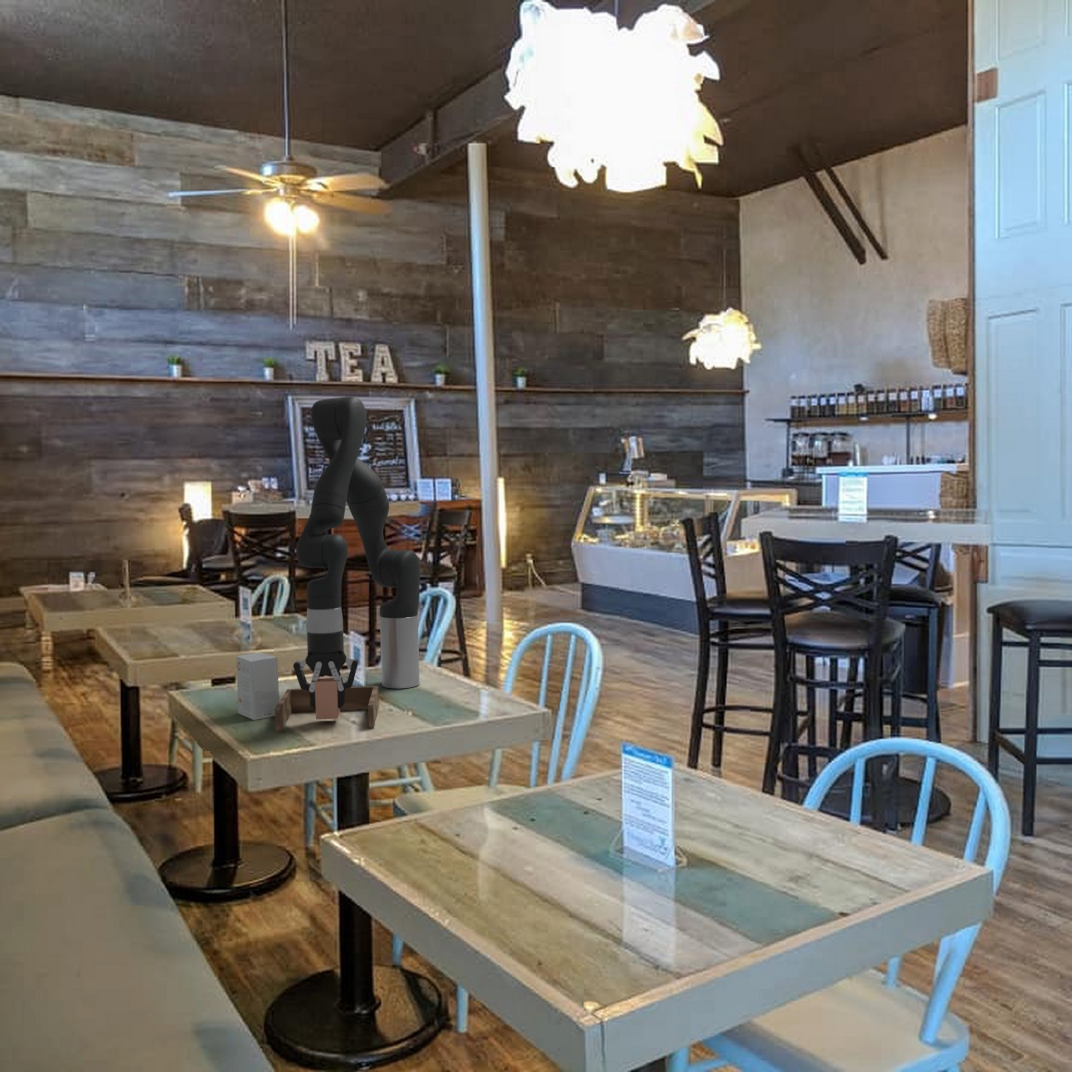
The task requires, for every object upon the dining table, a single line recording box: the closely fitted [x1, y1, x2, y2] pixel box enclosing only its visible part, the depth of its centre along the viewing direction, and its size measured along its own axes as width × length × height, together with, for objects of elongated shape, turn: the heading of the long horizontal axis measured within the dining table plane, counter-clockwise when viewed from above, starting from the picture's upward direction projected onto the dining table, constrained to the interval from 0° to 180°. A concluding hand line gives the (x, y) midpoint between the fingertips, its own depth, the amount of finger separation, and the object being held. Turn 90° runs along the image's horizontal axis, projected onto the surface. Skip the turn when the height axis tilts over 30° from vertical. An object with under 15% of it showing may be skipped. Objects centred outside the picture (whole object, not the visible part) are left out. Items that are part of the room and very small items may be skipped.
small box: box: [235, 652, 280, 721], centre depth 227 cm, size 8×6×13 cm
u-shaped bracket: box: [274, 685, 380, 733], centre depth 223 cm, size 17×20×5 cm
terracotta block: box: [315, 676, 341, 720], centre depth 220 cm, size 4×4×8 cm
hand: (327, 707), depth 220 cm, fingers closed on terracotta block, 4 cm apart
